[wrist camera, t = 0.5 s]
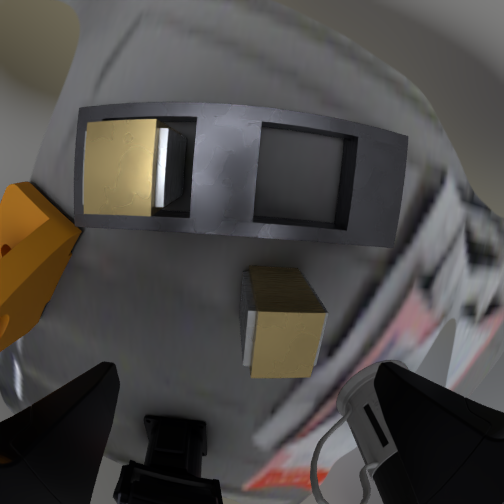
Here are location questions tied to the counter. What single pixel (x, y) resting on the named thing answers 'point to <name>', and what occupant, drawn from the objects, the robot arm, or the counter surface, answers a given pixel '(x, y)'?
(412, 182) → the counter surface
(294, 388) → the counter surface
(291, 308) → the gold metal block
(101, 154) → the tan-capped ribbed block
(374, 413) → the glass holder
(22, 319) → the bracket
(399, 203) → the tray
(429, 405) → the robot arm
